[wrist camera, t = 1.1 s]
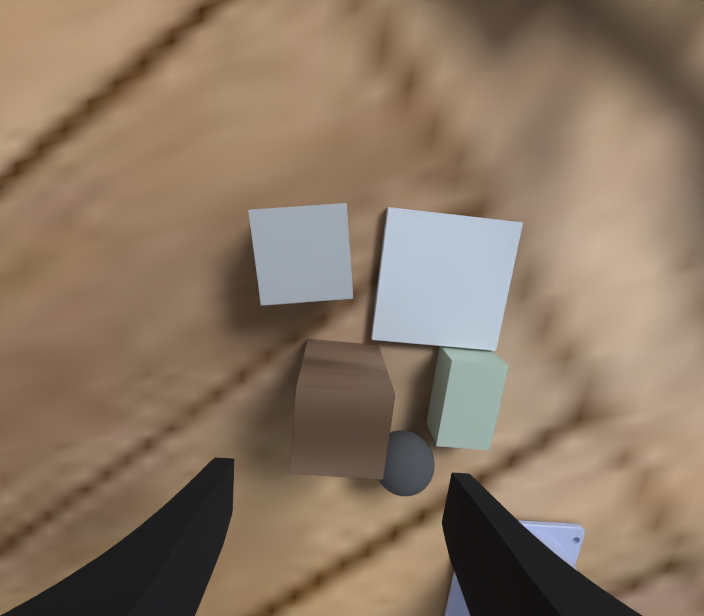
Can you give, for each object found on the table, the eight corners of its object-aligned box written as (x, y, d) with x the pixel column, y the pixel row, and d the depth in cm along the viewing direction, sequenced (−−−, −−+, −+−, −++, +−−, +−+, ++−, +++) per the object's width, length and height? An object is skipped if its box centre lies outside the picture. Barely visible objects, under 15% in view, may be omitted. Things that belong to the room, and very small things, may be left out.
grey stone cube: (349, 283, 19) (353, 298, 16) (276, 288, 19) (260, 305, 15) (344, 206, 19) (346, 203, 15) (266, 212, 18) (248, 209, 15)
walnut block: (370, 408, 21) (382, 479, 15) (302, 403, 21) (289, 473, 15) (378, 344, 20) (395, 394, 15) (307, 339, 20) (296, 387, 14)
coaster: (491, 346, 21) (495, 350, 20) (370, 336, 20) (371, 339, 20) (517, 222, 19) (522, 222, 18) (386, 207, 18) (388, 207, 18)
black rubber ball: (421, 469, 22) (436, 512, 19) (367, 466, 22) (373, 509, 19) (430, 421, 22) (447, 457, 18) (374, 416, 21) (381, 452, 18)
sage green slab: (473, 424, 22) (489, 450, 20) (425, 421, 22) (436, 446, 19) (489, 348, 21) (508, 365, 18) (438, 343, 21) (452, 360, 18)
